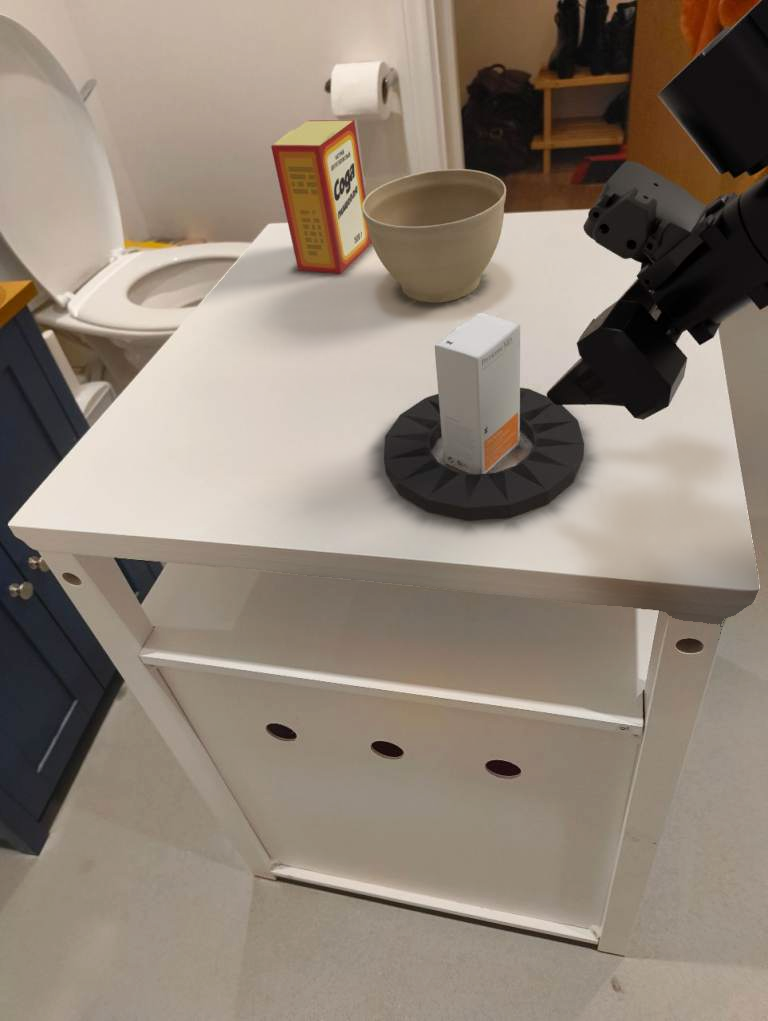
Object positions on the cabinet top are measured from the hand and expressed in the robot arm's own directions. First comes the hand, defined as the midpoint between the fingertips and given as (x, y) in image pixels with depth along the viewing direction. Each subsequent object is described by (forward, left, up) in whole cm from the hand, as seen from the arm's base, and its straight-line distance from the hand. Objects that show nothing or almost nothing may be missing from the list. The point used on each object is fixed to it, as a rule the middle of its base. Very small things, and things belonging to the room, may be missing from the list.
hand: (574, 364), depth 55 cm
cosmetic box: (+7, -4, -11) cm, 13 cm away
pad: (+7, -4, -11) cm, 13 cm away
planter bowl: (+10, -37, -11) cm, 40 cm away
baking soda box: (+24, -49, -11) cm, 56 cm away
